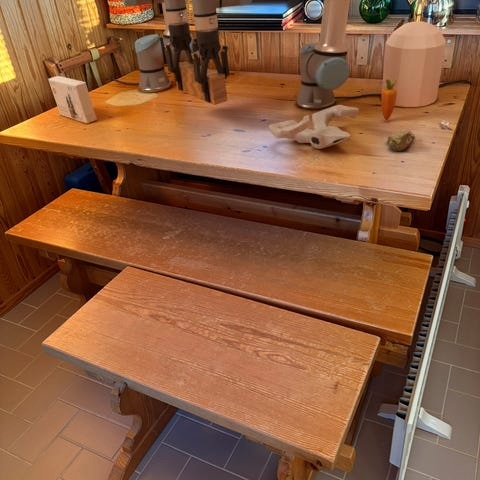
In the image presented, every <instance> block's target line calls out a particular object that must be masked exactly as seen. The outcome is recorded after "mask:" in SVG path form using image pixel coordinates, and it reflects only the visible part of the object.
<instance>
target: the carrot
mask: <svg viewBox="0 0 480 480" xmlns="http://www.w3.org/2000/svg"><path fill="white" fill-rule="evenodd" d="M396 81H397V79H395V80H394V82H393V84H391V82H390V79H386V83H387V85H386V87H387V88H386V89H384V90H383V91H382V90H381V93H382V98H381V97H380V99H381V100H380V101H381V102H380V104H381V112H382V113H381V114H382V117H383V119H384V120H385V121H386V122H388V121H389V119H390V118H391V117H392V114H393V112H394V109H395V107H396V106H395V102H396V95H397V91H396V90H395V89H394V88H393V86H394V84H395V83H396ZM389 85H390V86H389ZM391 85H392V86H391Z"/></svg>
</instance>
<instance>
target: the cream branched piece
mask: <svg viewBox="0 0 480 480" xmlns="http://www.w3.org/2000/svg"><path fill="white" fill-rule="evenodd" d="M359 113H360V109H359V108H358V107H354V106H347V105H342V104H337V105H333V106H331V107H329V108H326V109H321V110H320V111H319V110H318V111H316V112H314V113H312V115H311V117H310V115H309V114H307V115H304V116H303V118H302V119H301V121H299V122H296V121H295V120H294V119H290V120H285V121H280V122H276V123H272V124H269V126H268V129H269V131H270V133H271V134H272V135H273V136H274V137H275V138H276V139H288V140H295V141H296V142H298V143H299V144H304V143H305V144H306V143H307V144H310V145H311V146H312V147H313V148H314V149H316V150H323V149H327V148H329V147H332V146H336V145H337V144H341V143H343V142H347V141H349V140H350V139H351V135H350V133H349V132H348V131H344V130H341V129H340V128H339V127H337V126H336V125H329V124H330V121H331V119H333V118H346V117H349V118H353V119H356V118H357V117H358V115H359ZM311 122H312V126H313V129H311V128H309V127H310V126H311Z"/></svg>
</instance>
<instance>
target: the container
mask: <svg viewBox="0 0 480 480" xmlns="http://www.w3.org/2000/svg"><path fill="white" fill-rule="evenodd" d="M446 44H447V41H446V39H445V36H444V35H443V33H442V30H441V29H440V28H438V27H437V26H435V25H434V24H432V23H430V22H426V21H422V20H417V21H410V22H405V23H404V24H402V25H401V26H400V27H398V28H396V29H395V30H394V31H392V33H391V35H390V36H389V37H388V38H387V40H386V41H385V45H384V46H385V47H384V58H383V68H382V69H383V71H382V81H381V93H380V94H381V96H380V99H381V98H382V91H383V90H384V89H386V88H387V87H386V85H387V83H386V79H390V82H391V84H393V82H394V80H395V79H397V81H396V83H395V84H394V86H393V88H394V89H395V90H396V91H397V95H396V102H395V106H394V107H404V108H413V107H414V108H417V107H424V106H429V105H431V104H433V103H435V102H436V101H437V99H438V94H439V93H438V92H439V88H440V87H439V85H440V81H441V75H442V68H443V63H444V55H445V49H446ZM389 86H390V85H389ZM391 86H392V85H391Z"/></svg>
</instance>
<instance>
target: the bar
mask: <svg viewBox="0 0 480 480" xmlns="http://www.w3.org/2000/svg"><path fill="white" fill-rule="evenodd" d="M200 72H201V66H200ZM179 73H181V79H182V85H183V91H181V90H179V89H178V84H177V82H176V81H175V82H176V83H175V84H176V89H177V90H178V91H181V92H183V93H185V94H188V95H190V96H192V97H195V98H197V99H199V100H201V101H204V102H206V101H205V98H204V93H202V90H201V84H199V83H197V82H195V77H194V67H193V64H191V63H190V62H189V61H185V62H179ZM225 82H226V79H225V74H221V73H218V72H217V71H215V70H213V69H209V68H208V70H207V79H206V83H208V86H209V94H210V103H209V104H211V105H213V106H216V105H220V104H224V103H226V102H228V95H227V85H226V83H225Z"/></svg>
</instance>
